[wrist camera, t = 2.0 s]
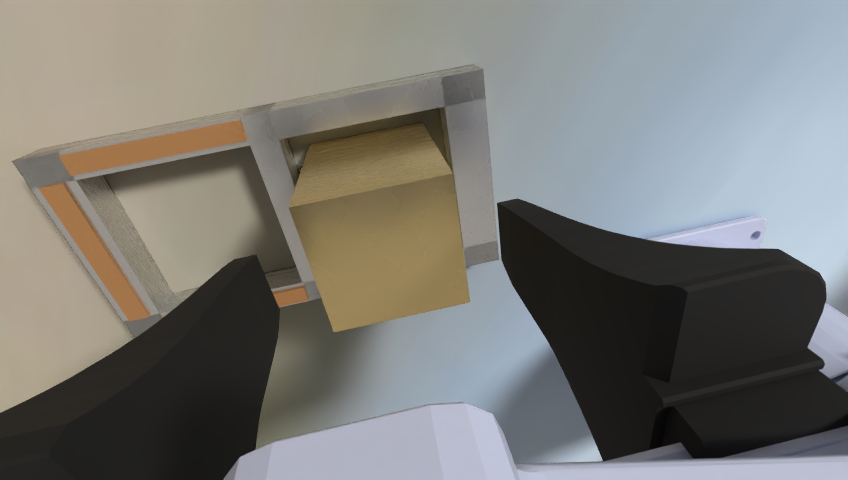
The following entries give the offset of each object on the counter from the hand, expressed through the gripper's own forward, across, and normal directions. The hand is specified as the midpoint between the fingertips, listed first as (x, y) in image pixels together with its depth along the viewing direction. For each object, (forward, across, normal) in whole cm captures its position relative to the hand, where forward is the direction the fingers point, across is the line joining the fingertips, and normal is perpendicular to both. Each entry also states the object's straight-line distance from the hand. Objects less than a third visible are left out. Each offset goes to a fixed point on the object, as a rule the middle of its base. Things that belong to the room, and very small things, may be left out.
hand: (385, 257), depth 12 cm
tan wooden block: (+6, 0, 0) cm, 6 cm away
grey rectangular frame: (+6, +3, 0) cm, 7 cm away
